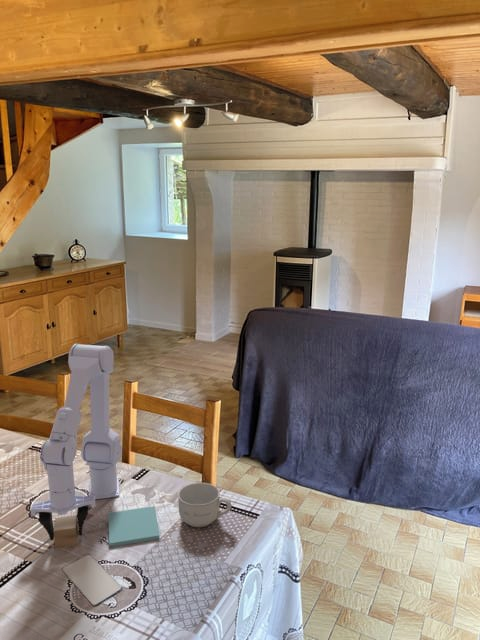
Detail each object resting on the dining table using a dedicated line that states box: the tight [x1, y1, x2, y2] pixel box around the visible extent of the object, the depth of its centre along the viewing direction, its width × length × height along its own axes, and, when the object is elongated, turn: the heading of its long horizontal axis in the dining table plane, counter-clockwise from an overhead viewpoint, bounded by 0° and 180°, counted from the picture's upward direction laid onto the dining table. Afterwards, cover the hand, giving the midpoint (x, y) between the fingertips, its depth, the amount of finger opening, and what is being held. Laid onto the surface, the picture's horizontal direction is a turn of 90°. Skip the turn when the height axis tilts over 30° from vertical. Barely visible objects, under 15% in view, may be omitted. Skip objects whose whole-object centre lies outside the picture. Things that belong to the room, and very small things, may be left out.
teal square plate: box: [108, 505, 161, 548], centre depth 130 cm, size 12×12×1 cm
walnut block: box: [53, 514, 79, 550], centre depth 124 cm, size 5×5×5 cm
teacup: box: [177, 482, 232, 528], centre depth 131 cm, size 14×11×8 cm
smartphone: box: [61, 553, 123, 607], centre depth 113 cm, size 7×1×15 cm
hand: (66, 535), depth 125 cm, fingers open, 6 cm apart
